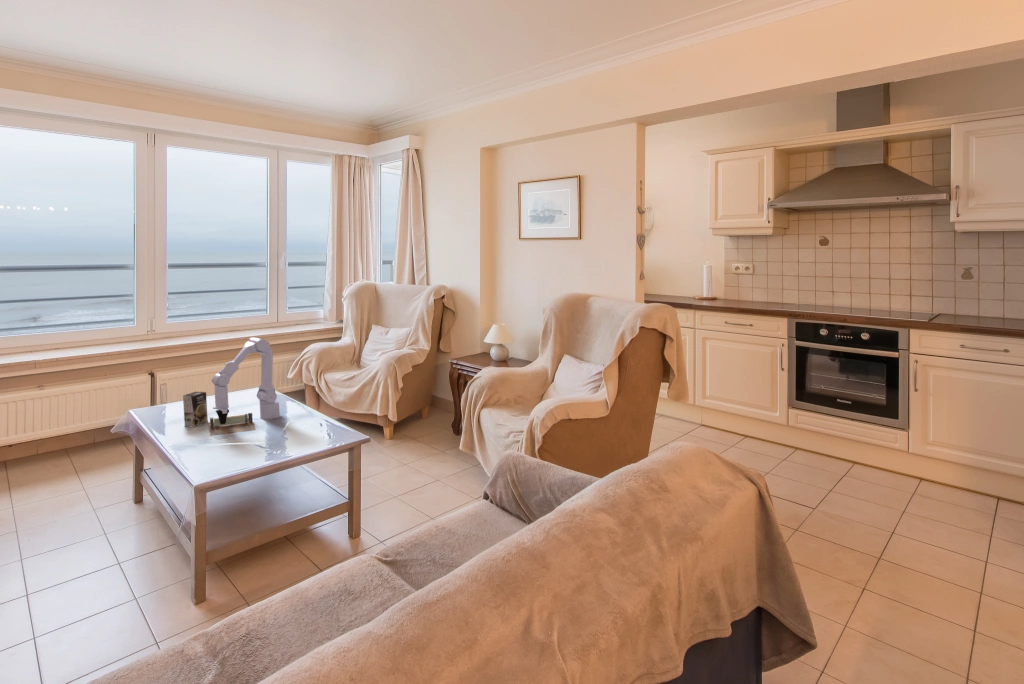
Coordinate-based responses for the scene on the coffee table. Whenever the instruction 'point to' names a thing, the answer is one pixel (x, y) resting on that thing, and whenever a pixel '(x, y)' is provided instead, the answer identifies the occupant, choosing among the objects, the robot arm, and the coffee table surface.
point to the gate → (232, 420)
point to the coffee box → (195, 409)
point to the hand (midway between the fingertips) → (223, 424)
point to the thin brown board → (231, 427)
